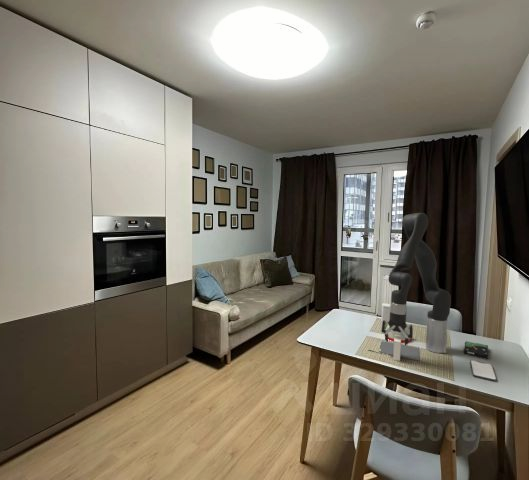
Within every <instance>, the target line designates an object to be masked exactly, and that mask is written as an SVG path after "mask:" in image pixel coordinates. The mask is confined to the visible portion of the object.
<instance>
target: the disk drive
mask: <svg viewBox="0 0 529 480" xmlns="http://www.w3.org/2000/svg"><path fill="white" fill-rule="evenodd" d="M463 354H464V355H467V356H472V357H475V356H476V357H477V358H479V359H484V358H485V360H489V345H488V344H483V343H479V342H471V341H468V340H466V341H465V342H464V348H463ZM476 357H475V358H476Z"/></svg>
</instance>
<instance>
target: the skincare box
mask: <svg viewBox="0 0 529 480" xmlns="http://www.w3.org/2000/svg"><path fill="white" fill-rule="evenodd" d="M390 305H391V303H385V302H382V304H381V306H382V307H381V320H380V327H381V329H382V322H383V320H385V321H388V322H389V318H390ZM386 328H387V325H385V329H384V330H386Z"/></svg>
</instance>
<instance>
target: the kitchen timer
mask: <svg viewBox="0 0 529 480" xmlns="http://www.w3.org/2000/svg"><path fill="white" fill-rule="evenodd" d="M389 327H390V326H389V325H388V324H387V328H386V330H387V329H388V328H389ZM405 331H406V332H407V334H408V335H409V334H410V330H409V329H408V327H406V328H405ZM395 335H399V336H401V344H405V336H404V335H403V333H402V332H397V331H393V330H392V331H390V332H389V333H388V339H389V340H388V341H390V340H391V342H392V343H394V337H395ZM411 339H412V338H408V343H410V342H411Z"/></svg>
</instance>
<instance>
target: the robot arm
mask: <svg viewBox="0 0 529 480" xmlns="http://www.w3.org/2000/svg"><path fill="white" fill-rule="evenodd" d="M428 225H429V218H428V216H427V214H426V213H424V212H415V213H409V214H405V215H404V216H403V217H402V227H403V230H404V232H405V234H406V237H407V241H406V242H405V244H404V245H403V246H402V247H401V249H400V251H399V252H398V253H399V254H398V257H397V261H396V263H395V265H394V266H393V268H392V269H391V270H390V272H389V274H388V282H389V284H390V285H392V286H398V287H401V288H400V289H395V290H392V291H391V298H390V304H391V305H390V318H389V322H388V321H385V320H383V322H382V328H381V333H383V334H384V341H385V342H389V340H388V333H389V332H390V331H392V330H393V331H397V332H402V333H403V335H404V336H405V343H404V345H406V346H409V345H408V344H409V342H408V338H411V339H413V334H414V332H413V330H414V329H413V327H414V326H413V324H407V309H408V308H407V301H408V295H409V294H408V293H409V290H410V288H411V285H412V282H413V277H412V275H411V274H410V273H408V272H403V271H404V270H405V271H407V270H410V269H412V267H413V263H414V259H415V262H416V263H415V264H416V265H417V268H418V272H419V275H420V278H421V282H422V287H423V291H424V296H425V299H426V300H427V301H428V302H429V303H430V304H431V305H432V310H428V311H427V315H426V316H427V317H426V336H425V349H427V350H428V351H430V352H433V353H438V354H447V343H448V335H447V331H448V318H449V315H450V313H451V306H452V299H451V298H452V297H451V294H450V292H449V291H447V290H445V289H442V288H440V286H439V284H438V281H437V278H436V276H437V275H436V273H437V268H438V264H437V263H438V262H437V260H436V257H435V256H436V255H435V253H434V251H433V250H432V249H431V247H430V246H428V244H427V243H426V242H425V241H424V240H423V237H424V235H425V232H426V231H427V229H428ZM387 324H388V325H389V326H390V327H389V328H388V329H387V330H384V329H385V325H387ZM406 327H408V329H409V331H410V334H409V335H408V334H407V332H406V331H405V328H406Z"/></svg>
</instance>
